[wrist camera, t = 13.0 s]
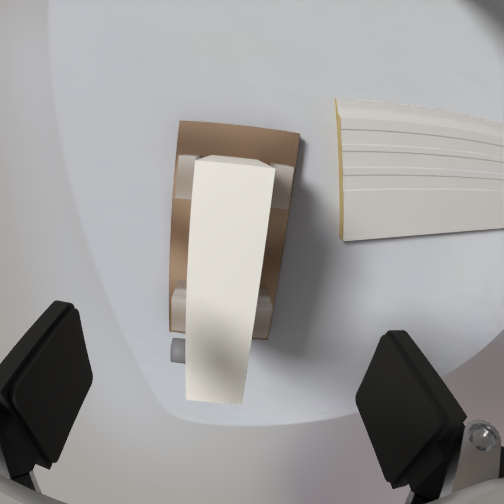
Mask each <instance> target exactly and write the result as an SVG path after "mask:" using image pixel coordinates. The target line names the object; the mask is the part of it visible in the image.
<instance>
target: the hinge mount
mask: <svg viewBox="0 0 504 504" xmlns="http://www.w3.org/2000/svg"><path fill="white" fill-rule="evenodd" d="M299 138H300V133H293V132H287V131H280V130H274V129H266V128H259V127H250V126H242V125H232V124H222V123H210V122H196V121H180V123H179V132H178V141H177V151H176V161H175V173H174V185H173V199H172V216H171V237H170V268H169V331H170V332H179V333H186V291H187V265H188V246H189V229H190V214H191V201H192V189H193V177H194V167H195V160H198V159H201V158H204V157H207V156H210V155H218V156H229V157H238V158H248V159H256V160H259V161H261V162H263V163H265V164H267V165H269V166H271V167H273V168H275V177H274V184H273V192H272V199H271V207H270V214H269V221H268V229H267V236H266V243H265V250H264V257H263V264H262V271H261V278H260V285H259V292H258V299H257V306H256V313H255V320H254V327H253V333H252V339H261V340H268V335H269V330H270V324H271V318H272V313H273V307H274V301H275V296H276V290H277V284H278V278H279V272H280V266H281V260H282V253H283V247H284V241H285V235H286V228H287V222H288V215H289V209H290V202H291V195H292V188H293V181H294V174H295V167H296V160H297V153H298V145H299Z"/></svg>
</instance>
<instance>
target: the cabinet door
mask: <svg viewBox="0 0 504 504" xmlns="http://www.w3.org/2000/svg"><path fill="white" fill-rule="evenodd" d="M274 177H275V168H273V167H271V166H269V165H267V164H265V163H263V162H261V161H259V160H256V159H248V158H238V157H229V156H218V155H210V156H207V157H204V158H201V159H198V160H195V167H194V177H193V189H192V201H191V214H190V229H189V246H188V265H187V291H186V339H180V338H173V339H172V344H171V362H176V363H184V364H185V371H186V400H192V401H203V402H215V403H229V404H242V399H243V393H244V386H245V380H246V373H247V367H248V360H249V353H250V347H251V340H252V333H253V327H254V320H255V313H256V306H257V299H258V292H259V285H260V278H261V271H262V264H263V257H264V250H265V243H266V236H267V229H268V221H269V214H270V207H271V199H272V192H273V184H274Z"/></svg>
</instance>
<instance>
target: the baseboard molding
mask: <svg viewBox="0 0 504 504" xmlns="http://www.w3.org/2000/svg"><path fill="white" fill-rule="evenodd" d="M335 105H336V118H337V134H338V155H339V189H340V238H341V240H342V241H353V240H365V239H377V238H389V237H401V236H413V235H425V234H437V233H449V232H461V231H473V230H485V229H498V228H504V124H502V123H499V122H495V121H491V120H487V119H483V118H479V117H475V116H471V115H466V114H461V113H456V112H451V111H446V110H441V109H435V108H429V107H423V106H416V105H409V104H401V103H392V102H383V101H372V100H359V99H342V98H336V99H335Z"/></svg>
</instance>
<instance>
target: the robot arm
mask: <svg viewBox="0 0 504 504" xmlns="http://www.w3.org/2000/svg"><path fill="white" fill-rule="evenodd" d="M92 380H93V374H92V370H91V366H90V362H89V358H88V354H87V349H86V345H85V340H84V336H83V331H82V326H81V320H80V315H79V311H78V310H77V309H75V308H74V305H73V304H72V303H68V302H62V301H54V302H53V303H52V304H51V305H50V306H49V307H48V309H47V310H46V311H45V312H44V313H43V314H42V315H41V316H40V317H39V319H38V320H37V321H36V322H35V323H34V324H33V325H32V326H31V328H30V329H29V330H28V331H27V332H26V334H24V336H23V337H22V338H21V339H20V341H19V342H18V343H17V344H16V345H15V346H14V348H13V349H12V350H11V351H10V353H9V354H8V355H7V356H6V358H5V359H4V360H3V361H2V363H1V364H0V504H66V503H64V502H61V501H58V500H56V499H53V498H51V497H48V496H46V495H43V494H42V493H41V490H40V488H39V485H38V483H37V480H36V478H35V475H34V473H33V468H34V466H35V464H38V465H40V466H42V467H44V468H47V469H50V468H51V465H52V463H56V462H57V461H58V459H59V457H60V454H61V452H62V450H63V447H64V445H65V442H66V440H67V438H68V435H69V432H70V430H71V428H72V426H73V424H74V421H75V419H76V417H77V414H78V412H79V410H80V408H81V405H82V403H83V401H84V399H85V397H86V395H87V393H88V391H89V388H90V386H91V384H92ZM356 405H357V407H358V410H359V412H360V415H361V417H362V420H363V422H364V425H365V427H366V430H367V432H368V435H369V438H370V440H371V443H372V445H373V448H374V451H375V453H376V456H377V458H378V461H379V464H380V466H381V469H382V472H383V475H384V477H385V479H386V481H387V482H390V483H391V486H392V488H393V489H395V488H399V487H403V486H406V485H407V484H409V486H410V488H411V490H410V492H409V495H408V497H407V499H406V502H405V504H504V447H502V446H501V438H500V435H499V433H498V431H497V430H496V428H495V427H494V426H493V425H491V424H490V423H488V422H486V421H484V420H473V421H471V422H469V423H468V424H467V425H466V426H464V424H463V422H464V420H465V419H466V418H467V416H466V414H465V413H464V411H463V410H462V408H461V407H460V405H459V404H458V402H457V401H456V399H455V398H454V396H453V395H452V393H451V392H450V390H449V389H448V388H447V386H446V385H445V383H444V382H443V380H442V379H441V378H440V376H439V375H438V373H437V372H436V371H435V369H434V368H433V367H432V365H431V364H430V362H429V361H428V360H427V358H426V357H425V356H424V354H423V353H422V352H421V350H420V349H419V348H418V346H417V345H416V344H415V342H414V341H413V340H412V338H411V337H410V336H409V334H408V333H407V332H406V331H404V330H390V331H387V333H386V334H385V335H383V336H382V337H381V339H380V341H379V343H378V346H377V348H376V351H375V353H374V356H373V358H372V360H371V363H370V365H369V367H368V370H367V372H366V374H365V376H364V379H363V381H362V383H361V385H360V387H359V389H358V391H357V394H356Z"/></svg>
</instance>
